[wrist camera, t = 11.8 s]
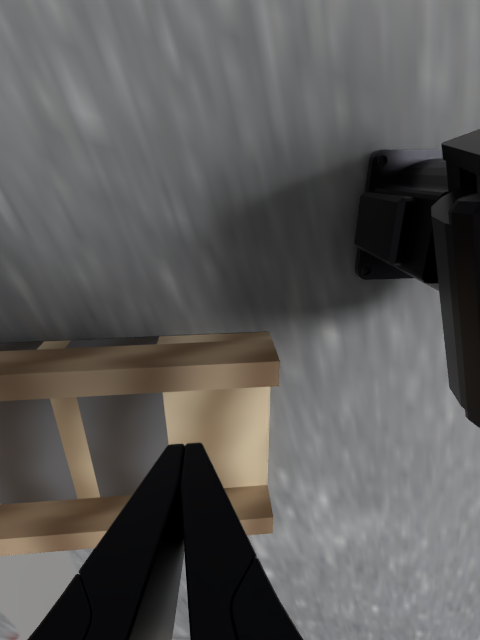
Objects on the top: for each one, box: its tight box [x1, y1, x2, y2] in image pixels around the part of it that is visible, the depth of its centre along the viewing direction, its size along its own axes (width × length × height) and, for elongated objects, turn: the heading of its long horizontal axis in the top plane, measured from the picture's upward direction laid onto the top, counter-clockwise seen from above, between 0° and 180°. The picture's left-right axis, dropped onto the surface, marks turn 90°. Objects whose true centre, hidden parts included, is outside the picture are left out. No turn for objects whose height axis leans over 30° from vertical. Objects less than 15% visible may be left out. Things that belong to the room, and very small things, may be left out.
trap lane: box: [0, 332, 280, 556], centre depth 21 cm, size 27×13×4 cm, turn 90°
